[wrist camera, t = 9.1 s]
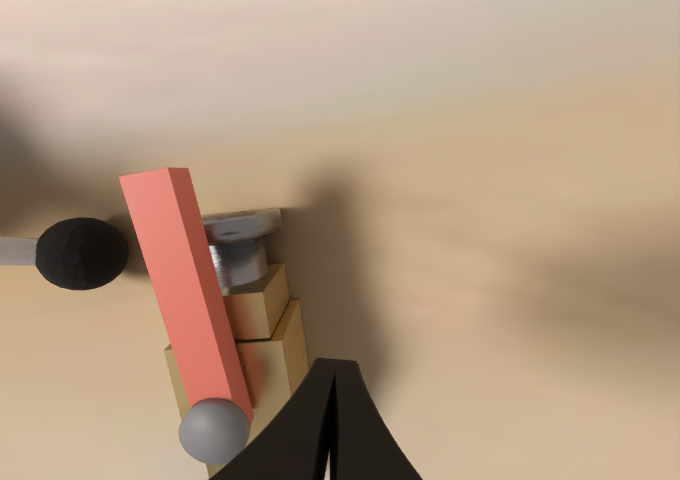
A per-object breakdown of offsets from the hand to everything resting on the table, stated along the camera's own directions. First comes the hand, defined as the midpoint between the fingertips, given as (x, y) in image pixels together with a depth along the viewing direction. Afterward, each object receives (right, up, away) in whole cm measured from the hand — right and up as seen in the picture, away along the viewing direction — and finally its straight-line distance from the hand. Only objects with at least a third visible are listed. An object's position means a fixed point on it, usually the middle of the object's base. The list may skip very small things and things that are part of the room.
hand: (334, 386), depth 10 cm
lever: (-6, +1, +5) cm, 8 cm away
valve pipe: (-5, -2, +12) cm, 13 cm away
